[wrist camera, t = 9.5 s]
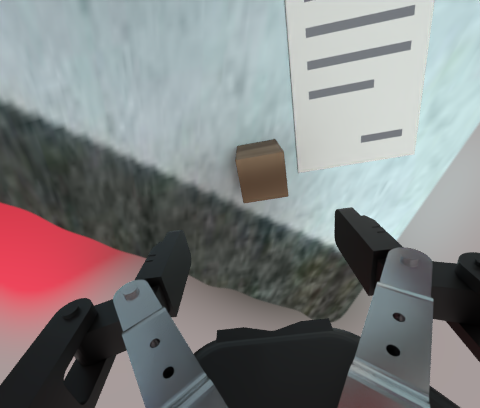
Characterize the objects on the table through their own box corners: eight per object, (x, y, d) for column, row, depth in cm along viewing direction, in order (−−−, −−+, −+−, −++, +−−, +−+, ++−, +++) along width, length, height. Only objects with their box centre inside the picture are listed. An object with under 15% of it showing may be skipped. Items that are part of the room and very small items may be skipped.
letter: (298, 172, 26) (298, 172, 26) (281, -45, 19) (281, -47, 18) (412, 153, 25) (414, 154, 25) (442, -85, 17) (446, -88, 17)
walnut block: (237, 145, 25) (235, 160, 19) (275, 139, 25) (283, 151, 19) (243, 181, 27) (243, 203, 21) (279, 175, 26) (288, 196, 21)
